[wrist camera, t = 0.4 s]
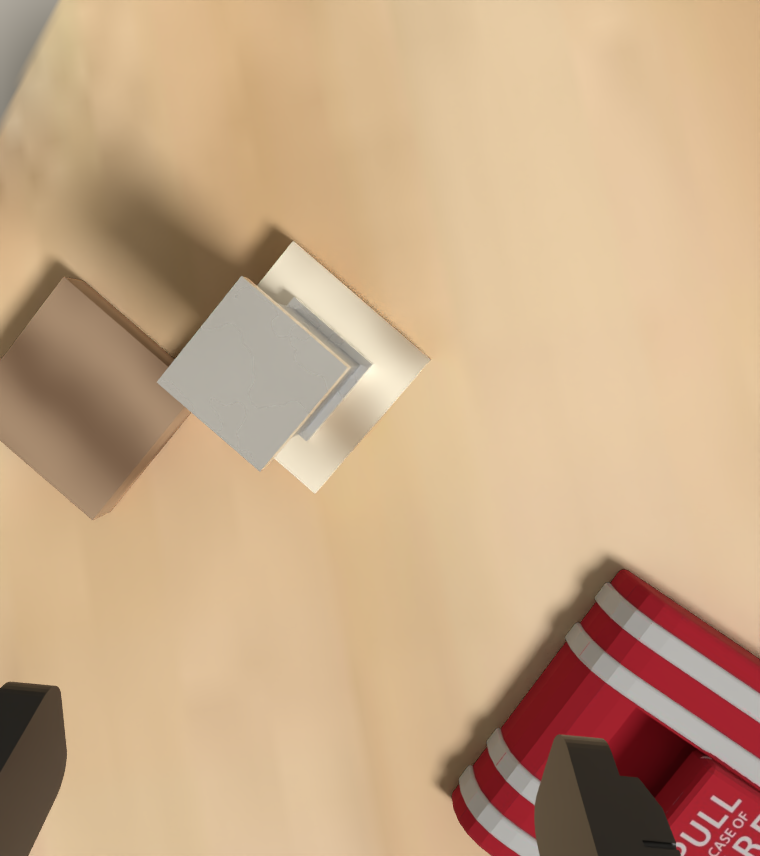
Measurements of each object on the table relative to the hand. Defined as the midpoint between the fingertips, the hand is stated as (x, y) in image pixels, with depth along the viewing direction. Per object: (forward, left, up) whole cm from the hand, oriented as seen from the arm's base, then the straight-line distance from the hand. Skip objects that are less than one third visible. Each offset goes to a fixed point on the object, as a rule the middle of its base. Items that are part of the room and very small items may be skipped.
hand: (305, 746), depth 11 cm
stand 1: (+8, -15, -26) cm, 31 cm away
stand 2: (-1, -7, -26) cm, 27 cm away
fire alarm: (+3, +23, -27) cm, 35 cm away
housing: (-1, -7, -24) cm, 25 cm away
